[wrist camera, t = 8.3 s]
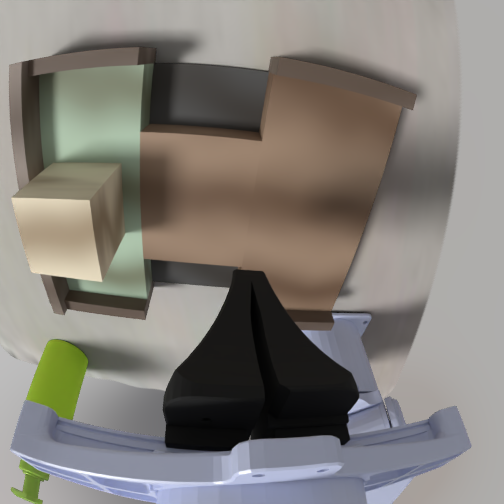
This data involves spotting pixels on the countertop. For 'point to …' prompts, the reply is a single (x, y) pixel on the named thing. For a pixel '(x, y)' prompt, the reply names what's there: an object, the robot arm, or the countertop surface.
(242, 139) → the track
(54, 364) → the soap dispenser
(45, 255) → the maple block
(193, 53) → the countertop surface
